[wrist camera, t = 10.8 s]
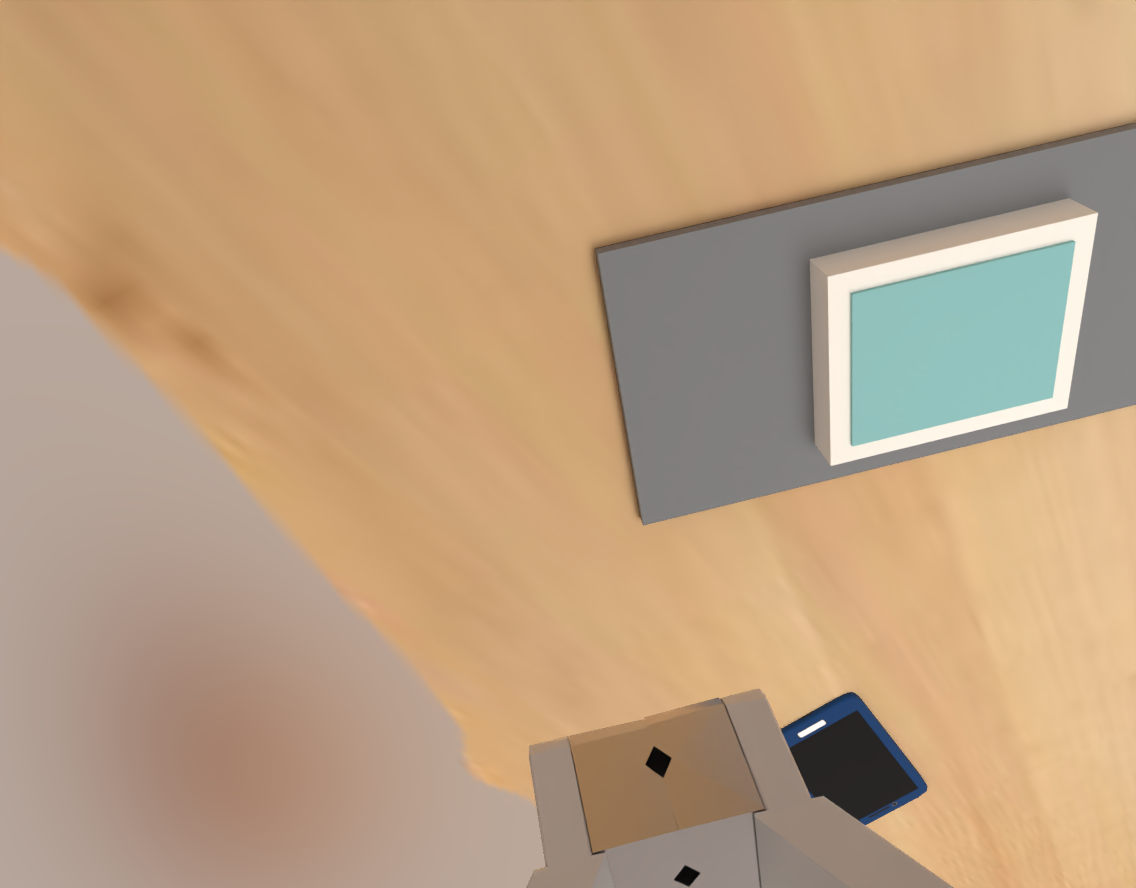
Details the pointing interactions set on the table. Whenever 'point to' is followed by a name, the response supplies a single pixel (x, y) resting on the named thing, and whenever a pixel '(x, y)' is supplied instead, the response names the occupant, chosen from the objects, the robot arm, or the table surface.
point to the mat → (783, 319)
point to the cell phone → (852, 760)
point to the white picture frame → (948, 329)
